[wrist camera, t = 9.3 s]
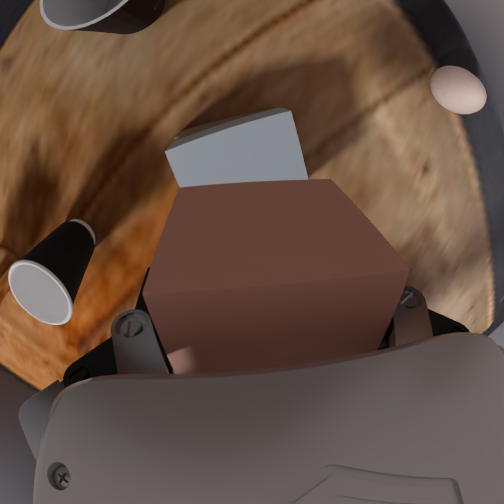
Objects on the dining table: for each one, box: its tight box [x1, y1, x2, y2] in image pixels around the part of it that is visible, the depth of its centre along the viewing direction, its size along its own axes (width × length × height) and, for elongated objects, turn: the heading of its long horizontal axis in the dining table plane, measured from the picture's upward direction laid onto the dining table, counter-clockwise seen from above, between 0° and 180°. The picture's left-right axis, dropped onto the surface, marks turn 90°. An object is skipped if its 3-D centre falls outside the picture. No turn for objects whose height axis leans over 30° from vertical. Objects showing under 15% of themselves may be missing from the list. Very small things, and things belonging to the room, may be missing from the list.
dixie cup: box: [8, 219, 95, 325], centre depth 25 cm, size 8×8×11 cm
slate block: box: [165, 107, 308, 187], centre depth 21 cm, size 9×9×4 cm
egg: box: [430, 66, 487, 114], centre depth 19 cm, size 6×6×8 cm
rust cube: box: [142, 179, 411, 374], centre depth 10 cm, size 6×6×6 cm
